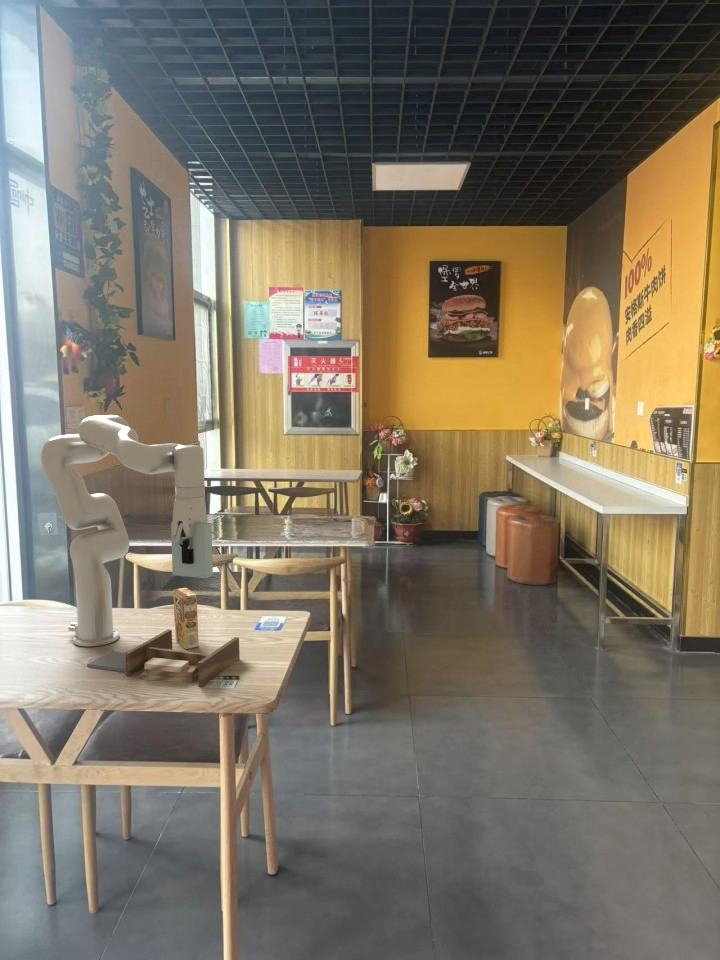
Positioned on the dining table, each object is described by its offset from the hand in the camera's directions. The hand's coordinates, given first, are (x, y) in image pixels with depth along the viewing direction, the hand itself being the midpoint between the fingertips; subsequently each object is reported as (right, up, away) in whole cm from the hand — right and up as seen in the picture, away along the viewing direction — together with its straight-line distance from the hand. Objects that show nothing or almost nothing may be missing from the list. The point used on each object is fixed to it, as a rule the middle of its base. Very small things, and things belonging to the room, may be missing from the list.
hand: (192, 561), depth 189 cm
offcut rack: (-2, -28, -2) cm, 28 cm away
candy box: (-5, -26, +16) cm, 30 cm away
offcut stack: (-4, -29, -8) cm, 30 cm away
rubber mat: (-19, -27, +1) cm, 33 cm away
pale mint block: (0, -4, 0) cm, 4 cm away
